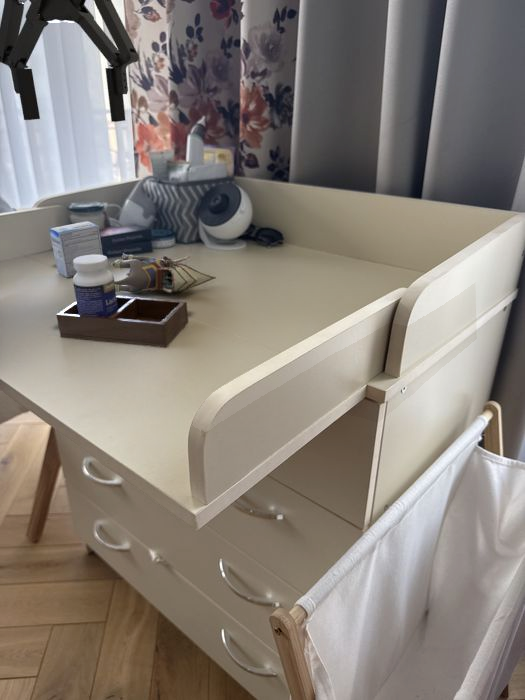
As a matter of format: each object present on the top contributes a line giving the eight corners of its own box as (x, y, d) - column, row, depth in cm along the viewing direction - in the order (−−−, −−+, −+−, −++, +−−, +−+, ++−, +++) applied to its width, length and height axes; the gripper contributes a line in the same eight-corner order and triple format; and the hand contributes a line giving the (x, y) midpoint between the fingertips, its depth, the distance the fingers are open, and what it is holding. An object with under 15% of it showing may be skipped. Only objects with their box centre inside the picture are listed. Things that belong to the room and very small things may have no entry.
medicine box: (94, 263, 109) (87, 220, 105) (105, 268, 106) (98, 224, 102) (57, 273, 104) (48, 228, 100) (67, 278, 101) (58, 232, 97)
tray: (166, 347, 75) (163, 324, 74) (60, 336, 79) (55, 314, 77) (188, 322, 83) (186, 301, 81) (91, 313, 86) (87, 293, 85)
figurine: (148, 240, 104) (230, 248, 99) (150, 271, 107) (230, 280, 102) (85, 266, 87) (180, 277, 82) (89, 302, 89) (182, 315, 84)
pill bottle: (118, 329, 79) (108, 263, 75) (78, 332, 78) (65, 266, 74) (121, 313, 84) (112, 251, 80) (83, 316, 84) (71, 253, 79)
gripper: (154, -65, 68) (167, 119, 77) (-18, -54, 73) (14, 117, 83) (126, -80, 61) (144, 123, 71) (-60, -67, 67) (-20, 120, 76)
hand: (74, 120), depth 77 cm, fingers open, 13 cm apart
